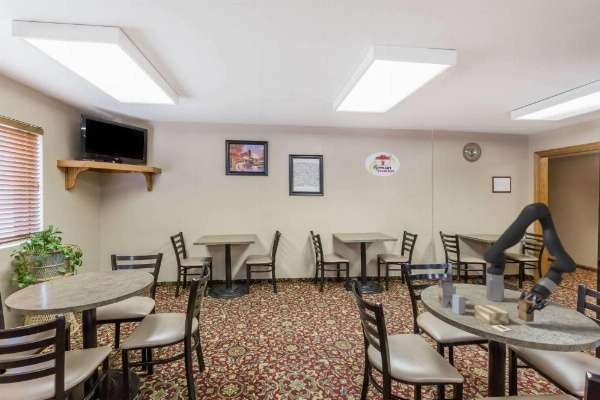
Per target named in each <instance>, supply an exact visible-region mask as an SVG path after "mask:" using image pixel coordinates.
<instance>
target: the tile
mask: <svg viewBox="0 0 600 400" xmlns="http://www.w3.org/2000/svg"><path fill="white" fill-rule="evenodd" d="M491 328H494V329H496V330H498V331H500V332H502V333H503V332H510V331H511V332H512V331H513V330H512V329H511V328H509V327H507V326H504V325H503V324H493V325H492V326H491Z"/></svg>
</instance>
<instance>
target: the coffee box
mask: <svg viewBox="0 0 600 400" xmlns="http://www.w3.org/2000/svg"><path fill="white" fill-rule="evenodd" d="M453 285H454V281H453V280H452V279H451V278H450V277H441V276H440V277H438V300H437V301H438V304H440V306H441V307H442V308H449V309H451V308H452V304H453Z"/></svg>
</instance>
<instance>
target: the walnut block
mask: <svg viewBox="0 0 600 400" xmlns="http://www.w3.org/2000/svg"><path fill="white" fill-rule="evenodd" d="M532 304H533V303H532V302H531V301H529V300H528V299H527V300H519V299H518V305H519V310H518V311H517V313H518V316H517V317H518V319H520V320H521V321H523V322H525V323H533V322H534V321H535V320H534V319H535V310H534V311H533V312H532V313H531V314H530V315H528V314H527V313H526V311H527V309H528V308H529V307H531V305H532Z"/></svg>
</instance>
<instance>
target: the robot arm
mask: <svg viewBox="0 0 600 400" xmlns="http://www.w3.org/2000/svg"><path fill="white" fill-rule="evenodd" d="M536 221H538V222H539V224H540V226H541V232H542V233H541V235H542V241H543V245H544V246H545V248H546V250H547V253H548V254H549V255H550V256H552V257H554V258H555V260H553V262H552V263H550V265H549V267H548V269H547V272H546V273H545V274H544V275H543V276H542V277H541V278H540V279H538V281H537V282H535V284H533V286H532V287H531V288H530V291H529V292H527V293H526V292H525V291H523V292H521V293H520V296H519V298H518V301H519V300H529V301H531V302H532V303H533V304H532V305H531V307H529V308H528V309H527V311H526V313H527V314H528V315H530V314H531V313H532V312H533V311H534V312H535V311H541V310H543V309H545V308H546V307H548V306H549V303H548V301H547V300H548V299H549V298H550V296H551V295H552V294H553V293H554V292H555V291H556V289H557V288H558V286H560V284H561V283H562V282H563V281H564V277H563V276H562V275H563V274H572V273H575V272H576V271H577V268H578V266H577V263H576V262H575V260H574V259H573V258H572V256H571V255H570V253H568V252H567V251H566V249H565V248H564V245H563V244H562V241H561V239H560V237H559V236H558V233H557V231H556V227H555V224H554V221H553V217H552V214H551V210H550V207H549V206H548V205H547V204H546V203H545V202H539V201H538V202H534V203H531V204H530V203H529V204H527V205H525V206H524V207H523V209H522V210H521V212H520V213H519V215H518V216H517V217H516V219H515V220H514V221H513V222H512V223H511V224H510V225H509V227H507V228H506V229H505V230H504V231H503V233H502V234H501V235H500V236H499V238H498V239H497V240H496V241H495V242H494V243H493V244H492V245H490V246H489V247H488V248H487V249H486V250H485V251H484V253H483V260H484V261H485V262H486V263H488V264H491V265H490V266H489V267H487V268H486V283H485V284H486V286H485V287H486V291H485V293H486V294H485V295H486V296H485V298H486V299H487V300H490V301H493V302H503V301H504V300H505V285H504V273H505V271H506V270H505V269H506V261H507V257H506V253H505V251H507V250H509V249H511V248H513V247H515V246H517V244H519V243H520V241H522V240H523V238H524V237H525V236H526V233H527V229H528V228H529V227H530V226H531V225H532V224H533V223H535V222H536ZM516 307H517V310H518V311H519V304H518V305H517V306H516Z"/></svg>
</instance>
